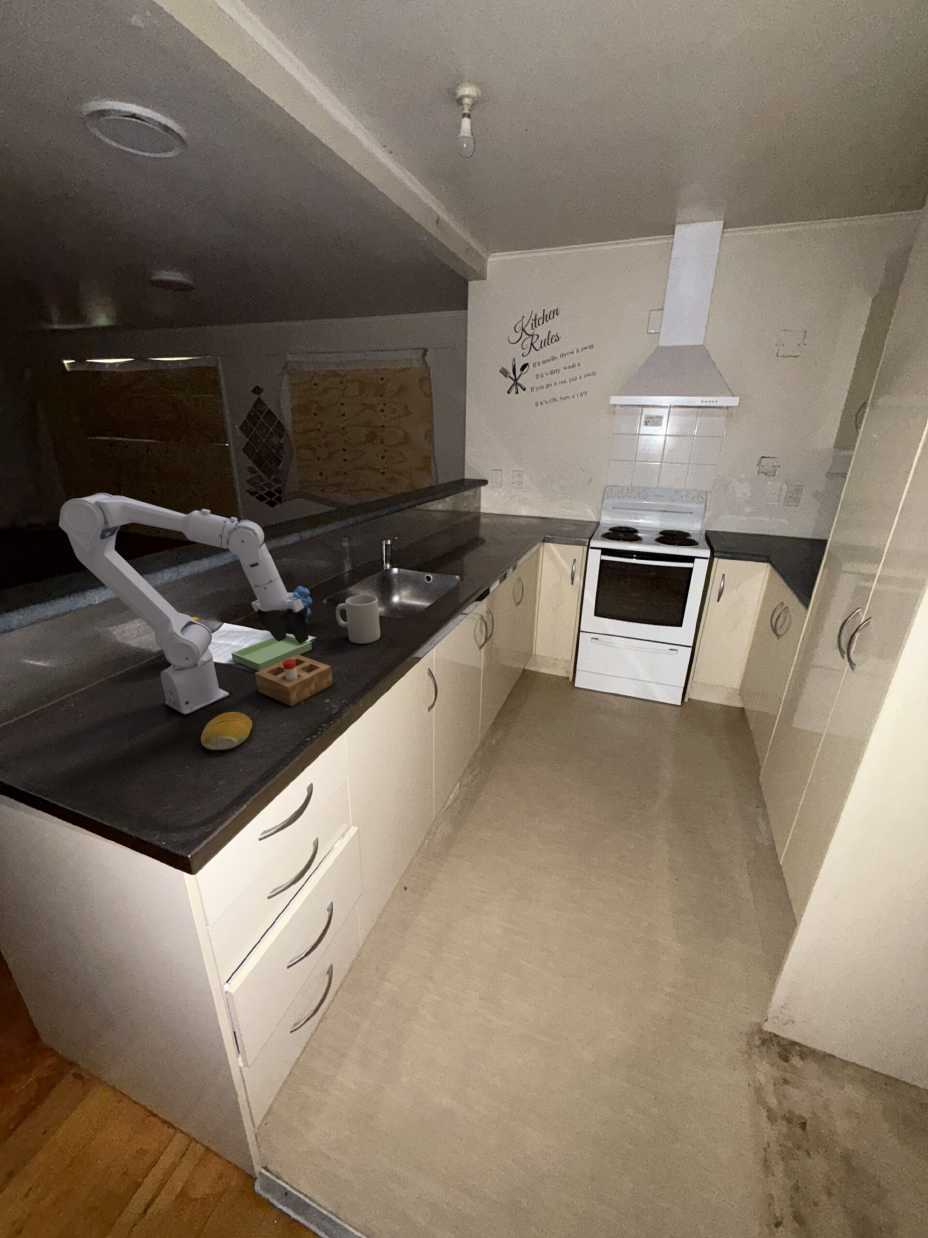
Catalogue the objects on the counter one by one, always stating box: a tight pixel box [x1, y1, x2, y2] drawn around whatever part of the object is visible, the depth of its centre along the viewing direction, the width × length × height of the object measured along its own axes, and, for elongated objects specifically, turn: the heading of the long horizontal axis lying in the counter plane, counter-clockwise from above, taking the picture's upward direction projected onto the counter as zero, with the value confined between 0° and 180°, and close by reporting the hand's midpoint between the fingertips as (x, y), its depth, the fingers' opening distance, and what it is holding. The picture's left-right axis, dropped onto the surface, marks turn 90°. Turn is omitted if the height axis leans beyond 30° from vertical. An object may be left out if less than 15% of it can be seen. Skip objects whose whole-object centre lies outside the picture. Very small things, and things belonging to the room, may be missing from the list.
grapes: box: [291, 585, 313, 624], centre depth 138 cm, size 12×7×12 cm, turn 168°
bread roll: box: [200, 711, 253, 751], centre depth 89 cm, size 8×9×4 cm
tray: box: [231, 633, 313, 672], centre depth 122 cm, size 15×11×2 cm
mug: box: [335, 594, 381, 645], centre depth 131 cm, size 12×8×11 cm
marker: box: [283, 659, 298, 682], centre depth 102 cm, size 2×2×8 cm
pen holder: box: [254, 654, 334, 707], centre depth 106 cm, size 11×11×4 cm
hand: (292, 640), depth 102 cm, fingers open, 7 cm apart
